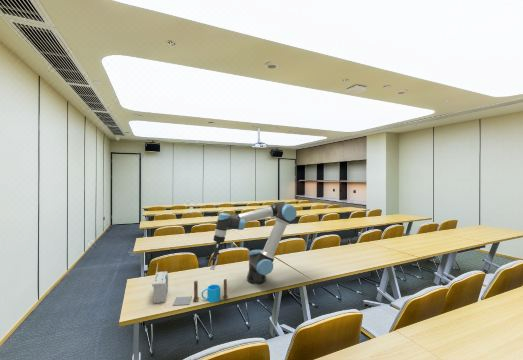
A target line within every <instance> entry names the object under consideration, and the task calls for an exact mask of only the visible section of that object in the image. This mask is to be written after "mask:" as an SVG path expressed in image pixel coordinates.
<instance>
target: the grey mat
mask: <svg viewBox="0 0 523 360" xmlns="http://www.w3.org/2000/svg"><path fill="white" fill-rule="evenodd" d="M191 300H192V296H177V297H175V299H174V301H173V304H172V306H173V307H174V306H190V304H191Z"/></svg>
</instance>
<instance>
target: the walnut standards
mask: <svg viewBox="0 0 523 360" xmlns="http://www.w3.org/2000/svg"><path fill="white" fill-rule="evenodd" d="M198 283H199V282H198V280H193V300H192V302H193V303H199V299H200V297H199V295H198V294H199V293H198V292H199V289H198V288H199V287H198ZM227 294H228V279H226V278H224V279H223V296H222V300H223V301H228V300H229V299H228V297H229V296H228V295H227Z"/></svg>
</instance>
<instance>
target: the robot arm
mask: <svg viewBox="0 0 523 360" xmlns="http://www.w3.org/2000/svg"><path fill="white" fill-rule="evenodd" d="M297 214H298V213H297V209H296V207H295V206H294V205H292V204H290V203H286V202H278V203H274V204H271V205H268V206H267V207H262V208H259V209H254V210H251V211H246V212H242V213H238V214H237V213H236V214H229V213H226V212H220V213H219V214H218V217H217V220H216V227H215V229H214V236H213V241H214V242H216V243H214V249H213V255H212V258H211V263H210V268H209V270H211V271H215V269H216V265H217V263H218V258H219V255H220V249H221V245H222V244H223V243H224V242H225V240H226V236H227V230H228V229H232V230H238V231H244V229H245V227H246V223H249V222H254V221H256V220H257V221H258V220H260V219H267V218H275V223H274V225H273V227H272V229H271V231H270V233H269V236H268V237H267V239H266V240H267V241H266V243H265V245H264V247H263V249H252V250H250V251H249V252H248V272H247V276H246V281H247V282H248V283H249V284H253V285H254V284H255V285H259V284H260V285H261V284H263V283H265V282H266V281H267V275H269V274H271V273H272V271H273V270H274V263H273V262H274V261H275V257H274V256H275V253H276V251H277V248H278V245H279V244H280V242H281V239H282V237H283V235H284V232H285V230H286V228H287V226H289V225H290V224H291V221H293V220H295V219H296V217H297ZM221 243H222V244H221Z"/></svg>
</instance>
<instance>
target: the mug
mask: <svg viewBox="0 0 523 360" xmlns="http://www.w3.org/2000/svg"><path fill="white" fill-rule="evenodd" d="M206 291H207V295H206V296H207V297H205V296H204V293H205V292H206ZM200 295H201V297H202V298H203V299H205V300H207V302H209V303H217V302H219V301H221V286H220V285H219V284H210V285H208V286H207V288H204V290H202V292H201V294H200Z"/></svg>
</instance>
